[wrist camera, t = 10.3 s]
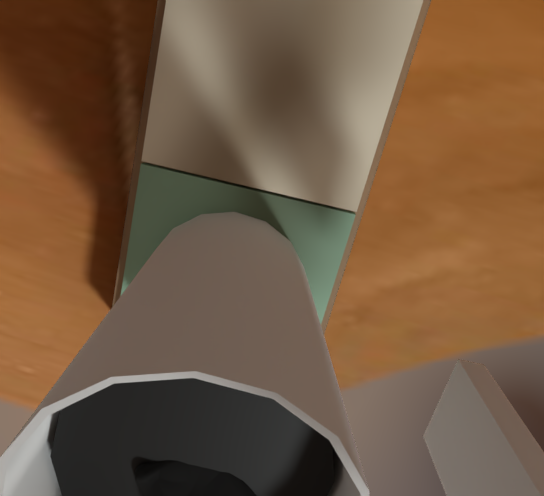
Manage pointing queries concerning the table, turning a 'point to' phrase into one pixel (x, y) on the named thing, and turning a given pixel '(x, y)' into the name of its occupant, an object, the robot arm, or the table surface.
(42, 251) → the table surface
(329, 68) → the cream and green board
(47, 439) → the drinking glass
